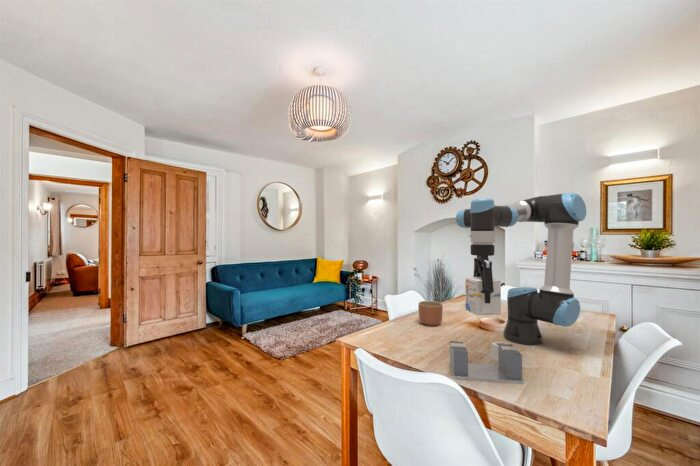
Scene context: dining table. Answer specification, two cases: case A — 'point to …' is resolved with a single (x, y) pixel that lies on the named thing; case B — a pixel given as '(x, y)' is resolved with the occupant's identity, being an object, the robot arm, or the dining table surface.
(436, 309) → the planter
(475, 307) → the ink box
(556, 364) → the dining table surface
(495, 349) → the loose module
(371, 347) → the dining table surface
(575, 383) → the dining table surface
